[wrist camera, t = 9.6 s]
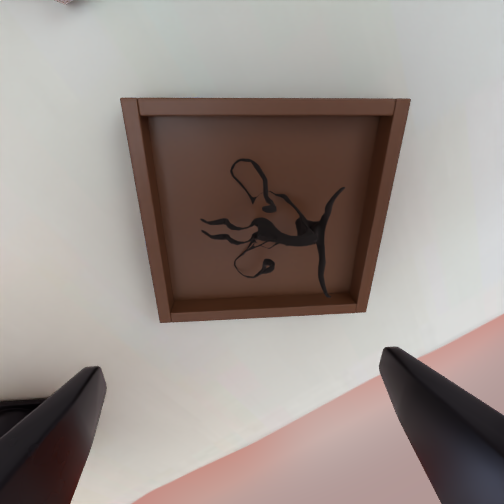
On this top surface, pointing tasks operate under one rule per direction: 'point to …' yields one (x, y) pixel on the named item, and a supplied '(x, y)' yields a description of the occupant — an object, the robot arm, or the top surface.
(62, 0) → the packaged product
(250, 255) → the tray
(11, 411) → the robot arm
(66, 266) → the top surface
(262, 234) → the creature
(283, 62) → the top surface
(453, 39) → the top surface
